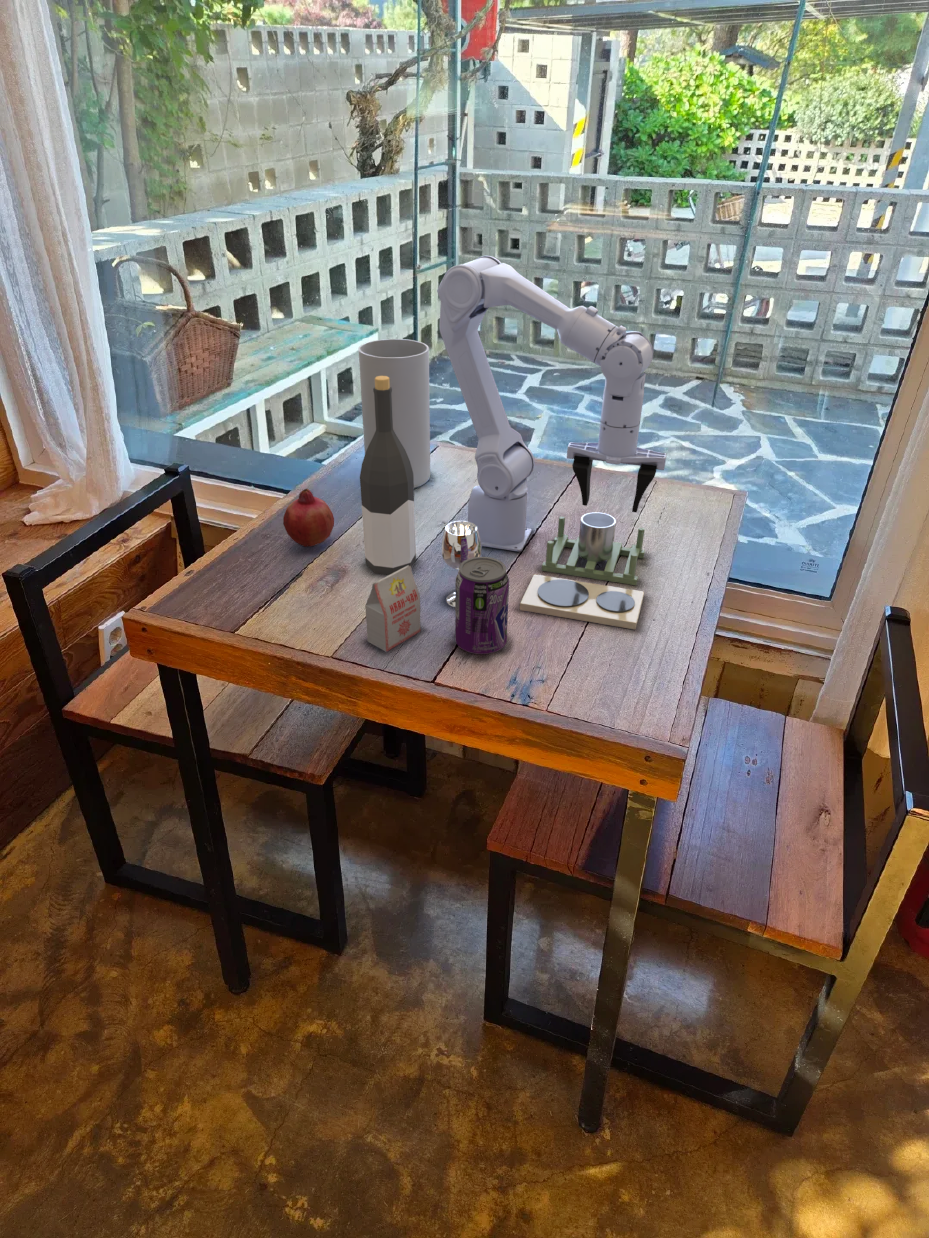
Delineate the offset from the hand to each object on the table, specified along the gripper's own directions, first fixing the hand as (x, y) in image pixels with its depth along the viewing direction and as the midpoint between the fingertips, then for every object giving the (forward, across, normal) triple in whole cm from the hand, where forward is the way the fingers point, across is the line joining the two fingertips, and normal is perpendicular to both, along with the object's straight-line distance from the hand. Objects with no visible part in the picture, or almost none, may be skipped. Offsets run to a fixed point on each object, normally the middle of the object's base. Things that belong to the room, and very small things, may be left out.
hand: (610, 506), depth 127 cm
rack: (+10, -2, 0) cm, 10 cm away
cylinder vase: (+10, -43, +21) cm, 49 cm away
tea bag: (+10, -25, -30) cm, 40 cm away
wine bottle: (+10, -33, -11) cm, 36 cm away
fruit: (+10, -48, -9) cm, 49 cm away
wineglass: (+10, -19, -18) cm, 28 cm away
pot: (+8, -2, 0) cm, 9 cm away
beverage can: (+10, -13, -28) cm, 32 cm away
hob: (+10, -1, -14) cm, 17 cm away
